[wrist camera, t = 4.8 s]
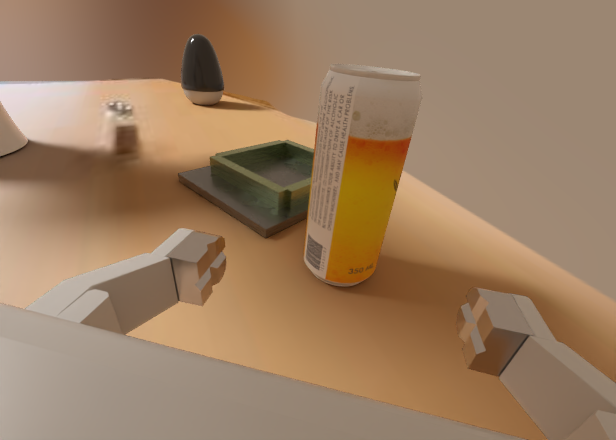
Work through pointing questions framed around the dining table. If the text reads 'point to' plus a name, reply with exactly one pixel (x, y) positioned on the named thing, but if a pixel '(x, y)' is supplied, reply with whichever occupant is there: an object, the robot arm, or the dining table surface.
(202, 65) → the dark grey egg shape
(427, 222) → the dining table surface
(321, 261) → the beer can
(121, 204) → the dining table surface
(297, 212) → the green and grey tray
